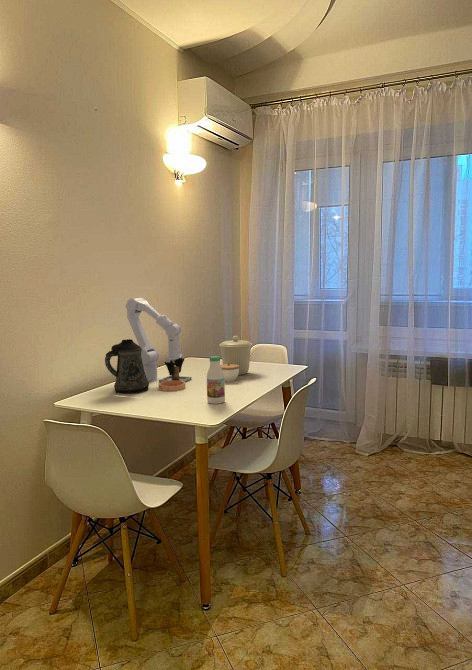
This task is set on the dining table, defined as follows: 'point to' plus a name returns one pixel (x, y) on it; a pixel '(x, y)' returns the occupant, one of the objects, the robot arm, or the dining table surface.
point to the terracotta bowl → (171, 385)
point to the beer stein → (128, 368)
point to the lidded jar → (230, 372)
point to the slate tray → (169, 378)
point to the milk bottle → (215, 382)
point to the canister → (236, 353)
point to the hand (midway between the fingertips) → (175, 373)
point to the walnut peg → (175, 374)
